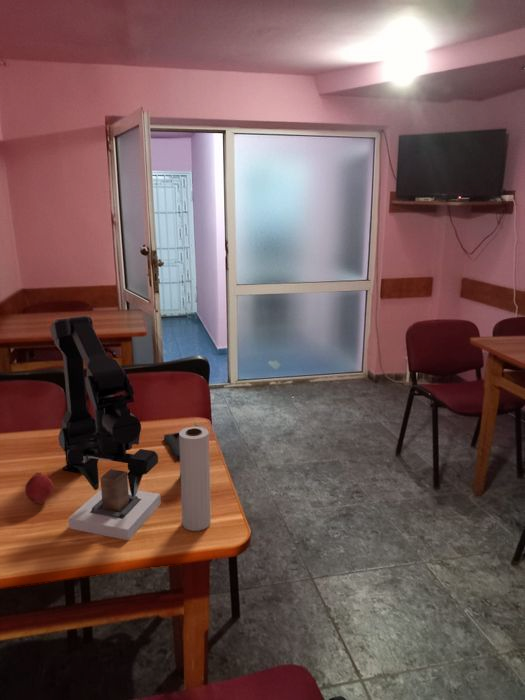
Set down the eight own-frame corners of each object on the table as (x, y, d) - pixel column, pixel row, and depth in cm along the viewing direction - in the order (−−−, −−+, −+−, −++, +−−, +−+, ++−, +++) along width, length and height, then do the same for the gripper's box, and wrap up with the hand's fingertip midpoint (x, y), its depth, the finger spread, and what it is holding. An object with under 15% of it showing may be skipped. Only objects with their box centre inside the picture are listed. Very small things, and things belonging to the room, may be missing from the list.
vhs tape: (205, 457, 141) (205, 450, 141) (177, 462, 138) (177, 455, 138) (190, 436, 154) (190, 430, 153) (164, 441, 151) (164, 434, 150)
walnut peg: (103, 519, 112) (100, 477, 110) (113, 509, 116) (110, 469, 113) (120, 522, 111) (116, 480, 108) (129, 512, 115) (127, 471, 112)
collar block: (69, 528, 109) (68, 515, 108) (106, 494, 122) (105, 482, 121) (128, 540, 105) (127, 527, 104) (160, 503, 118) (160, 492, 117)
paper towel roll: (198, 535, 107) (196, 440, 101) (176, 525, 110) (172, 433, 104) (219, 518, 113) (218, 427, 107) (197, 509, 116) (195, 421, 110)
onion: (28, 513, 114) (24, 480, 112) (26, 500, 119) (22, 469, 117) (56, 506, 117) (52, 474, 115) (53, 494, 122) (49, 463, 120)
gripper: (168, 416, 113) (171, 480, 117) (93, 406, 118) (98, 468, 122) (143, 437, 102) (147, 507, 106) (62, 426, 107) (69, 493, 111)
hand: (115, 492), depth 112 cm, fingers open, 9 cm apart
